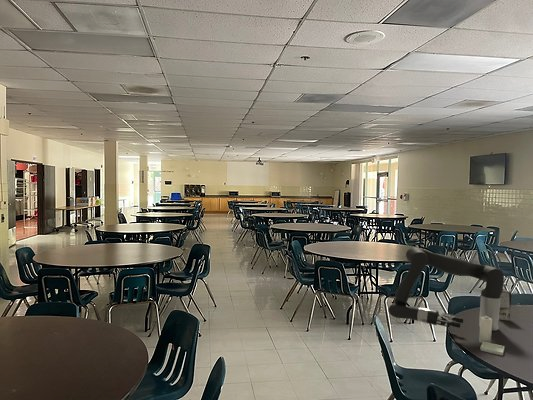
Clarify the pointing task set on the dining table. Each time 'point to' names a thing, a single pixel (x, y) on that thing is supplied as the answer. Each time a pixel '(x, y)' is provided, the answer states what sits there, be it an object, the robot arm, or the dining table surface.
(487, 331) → the battery cell
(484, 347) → the tray
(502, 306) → the coffee box
